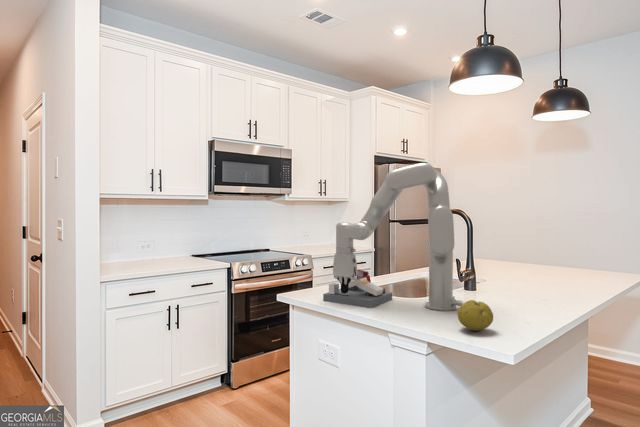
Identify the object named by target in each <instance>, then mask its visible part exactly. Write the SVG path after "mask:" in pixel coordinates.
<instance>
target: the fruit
mask: <svg viewBox="0 0 640 427" xmlns="http://www.w3.org/2000/svg"><path fill="white" fill-rule="evenodd" d="M456 312H457V319H458V321H459V323H460V324H461V325H462V326H463V327H465V328H466V329H468V330H470V331H471V332H481V331H484V330H485V329H487V328H489V327H490V325H492V323H493V321H494V313H493V311H492V309H491V307H490V306H489V305H488V304H487V303H485V302H483V301H476V300H473V299H471V300H468V301H466V302H463V304H462V305H461V306H459V307H458V308H457V311H456Z"/></svg>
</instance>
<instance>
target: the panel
mask: <svg viewBox="0 0 640 427" xmlns="http://www.w3.org/2000/svg"><path fill="white" fill-rule="evenodd" d="M382 288H383V293H382V294H380V295H378V296H375V295H373V294H371V293H369V292H367V291H365V290H363V289H359V287H357V286H353V287H349V290H348V293H345V294H344V293H341V288H339V293H337V294H329V291H328V292H326V293H323V296H322V299H323V302H330V303H337V304H342V305H350V306H355V307H361V308H362V307H363V308H369V309H373V308H375V307H378V306H380V305H383V304H385V303H386V302H389V301H391V300H393V292H389V291H386V288H385V287H382Z"/></svg>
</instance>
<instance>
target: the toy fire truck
mask: <svg viewBox="0 0 640 427" xmlns="http://www.w3.org/2000/svg"><path fill="white" fill-rule="evenodd" d="M364 277H366V278H367V281H369V282H371V283H372V281H371V277H370V275H369V271H367V270H362V269H357V276H356V279H360V278H364ZM359 289H361V288H359Z"/></svg>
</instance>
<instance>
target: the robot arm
mask: <svg viewBox="0 0 640 427" xmlns="http://www.w3.org/2000/svg"><path fill="white" fill-rule="evenodd" d="M417 186H418V187H419V186H424V187H425V189H426V192H427V204H428V205H427V206H428V208H427V209H428V213H427V222H428V301H427V302H425V303H424V308H426V309H429V310H434V311H441V312H442V311H444V312H447V311H455V310H456V309H457V306H459V307H460V306H461V305H462V304H464V301H462V300H459V299H458V300H457V299H455V298H456V297H455V296H453V295H454V294H453V293H454V292H453V291H454V289H453V284H454V282H453V281H454V280H453V279H454V276H453V273H454V272H453V270H454V268H453V267H454V252H453V251H454V249H455V225H454V224H455V223H454V222H455V221H454V216H453V211H452V210H451V206H450V195H449V186H448V182H447V180H446V178H445V177H444V175H443V174H442V173H441V172H440V171H438V170H436V169H435V168H434V167H433V165H431V164H430V163H426V162H420V163H416V164H411V165H409V166H404V167H400V168H395V169H392V170H390V171H389V172H388V173H387V174H386V176H385V180H384V181H383V183H382V184H381V186H380V187H379V188H378V190H377V191H376V193H375V194H374V196H373V197H372V199H371V201H370V204H369V207H368V209H367V211H366V213H365V214H364V215H363V217H362V218H361V219H360V221H359V222H353V223H352V222H337V224H336V226H335V253H334V258H333V264H332V274H333V278H334V279H335V280H337V281H338V282H339V285H340V289H341V293H344V294H345V293H348V290H349V283H350V282H351V281H354V280H356V278H357V270H358V265H357V264H358V263H357V257H356V254H355V253H356V252H357V250H356V248H354V240H357V241H365V240H366V239H368V238H370V237H371V236H372V234H373V233H374V232H375V230H376V229H377V227H378V226H379V224H380V223H381V221H382V220H383V218H384V217H385V216H386V214H387V213H388V212H389V211H390V209H391V207H393V205H394V203H395V202H396V200H398V197H399V196H400V194H402V192H403V190H404V189H408V188H409V189H410V188H413V187H414V188H415V187H417Z"/></svg>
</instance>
